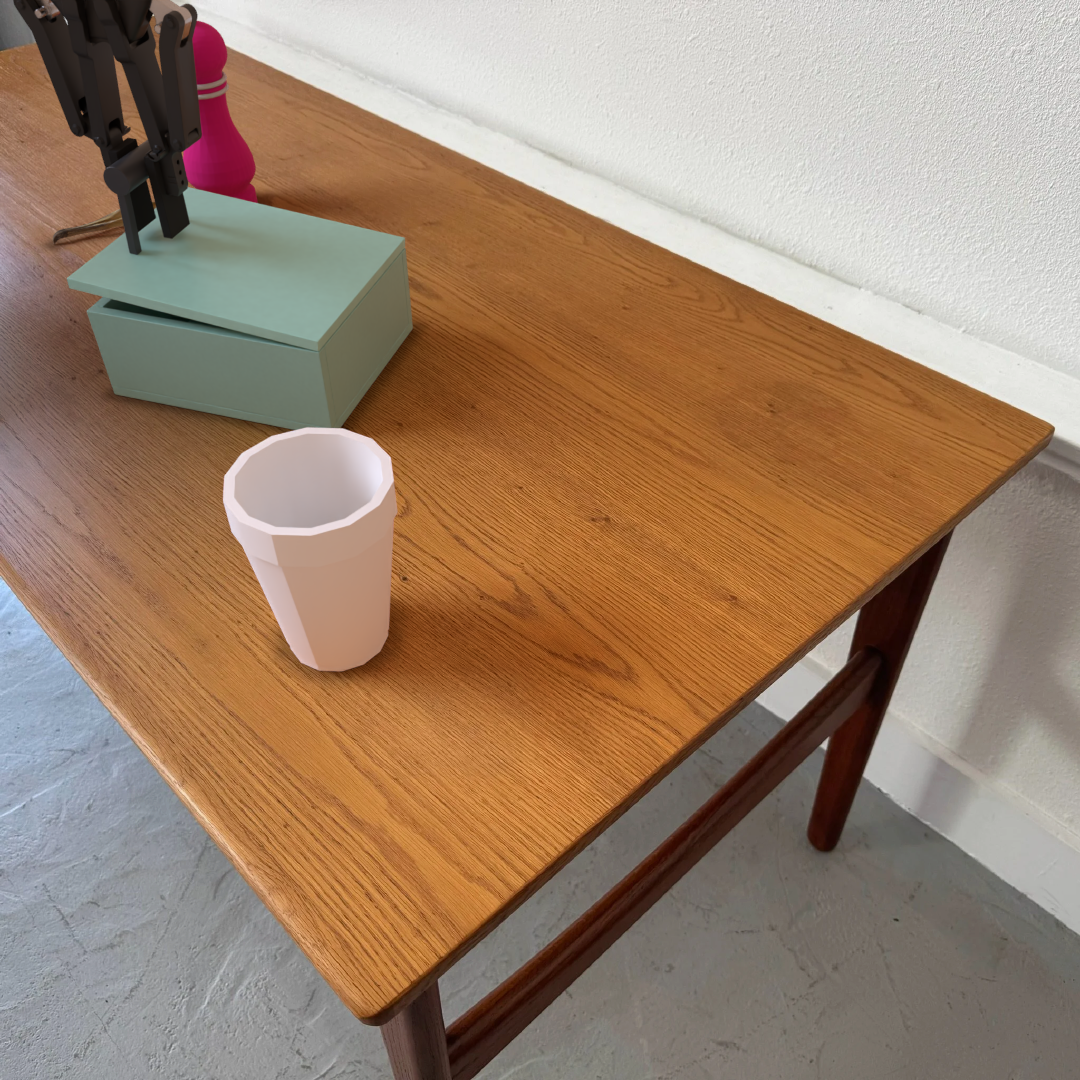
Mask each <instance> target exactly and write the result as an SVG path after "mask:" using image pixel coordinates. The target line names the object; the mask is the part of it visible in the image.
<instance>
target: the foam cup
mask: <svg viewBox="0 0 1080 1080" xmlns="http://www.w3.org/2000/svg"><path fill="white" fill-rule="evenodd" d="M394 478H395V477H394V471H393V463H392V457H391V456H390V455H389V454H388V453H387V452H386V451H385V450H384V448H382V447H381V446H380V445H379V444H378V443H377V441H375V440H374V438H372V437H368V436H365V435H362V434H360V433H357V432H354V431H351V430H349V429H346V428H342V427H341V428H309V427H307V428H303V429H298V430H291V431H290V430H289V431H286V432H283V433H277V434H274V435H271V436H269V437H267V438H266V439H265V438H264V440H262V441H260V442H258V443H257V444H255V445H253V446H252V447H249V448H248V449H247V450H244V451H243V452H241V453H240V455H239V456H238V457H237V458H236V460H235V461H234V463H233V464H232V465H231V466H230V468H229V469H228V471H227V472H226V474H224V476H223V491H222V492H223V493H222V502H223V506H224V509H225V513H226V517H227V520H228V524H229V527H230V531H231V534H232V535H233V536H234V538H235V539H236V540H237V541H238V543H239V544H240V545H241V546H242V549H243V550H244V553H245V556H246V557H247V559H248V562H249V564H250V566H251V568H252V570H253V572H254V575H255V577H256V579H257V581H258V583H259V585H260V587H261V590H262V591H263V593H264V596H265V598H266V600H267V602H268V604H269V606H270V609H271V611H272V613H273V615H274V617H275V620H276V621H277V624H278V626H279V627H280V630H281V632H282V634H283V636H284V639H285V640H286V643H287V644H288V646H289V649H290V650H291V652H292V653H293V654H294V656H295V657H296V658H297V660H298V661H299V662H300V663H301V664H302V665H305V666H308V667H310V668H312V669H314V670H317V671H320V672H344V671H349V670H351V669H354V668H357V667H360V666H364V665H365V664H366V663H368V662H369V661H370V660H371V659H373V658H374V657H375V656H377V655H378V654H379V653H380V652H381V651H382V649H383V647H384V645H385V643H386V641H387V639H388V637H389V630H390V615H391V614H390V612H391V594H392V593H391V592H392V591H391V590H392V572H393V571H392V569H393V549H394V548H393V546H394V529H395V528H394V524H395V518H396V516H397V515H398V504H397V496H396V486H395V479H394Z"/></svg>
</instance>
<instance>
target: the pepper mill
mask: <svg viewBox="0 0 1080 1080" xmlns="http://www.w3.org/2000/svg"><path fill="white" fill-rule="evenodd" d="M184 4H185V3H184ZM184 4H181V5H180V6H182V5H184ZM192 41H193V51H194V61H195V71H196V81H197V90H198V100H199V110H200V120H201V130H202V137H201V139H199V140H198V141H197V142H195V143H194V144H193V145H191V146H190V147H189V148H187V149H186V150H185V151H183V152H182V157H183V161H184V166H185V171H186V176H187V179H188V184H190V185H191V186H192V187H193V188H194V189H199V190H203V191H207V192H211V193H216V194H220V195H224V196H229V197H233V198H237V199H241V200H246V201H250V202H254V203H259V202H258V197H257V192H256V188H255V186H254V184H252V183H251V182H252V181H253V179H254V177H255V175H256V171H257V170H256V169H257V167H256V162H255V158H254V155H253V153H252V151H251V149H250V147H249V144H248V143H247V141H246V140H245V139H244V137H243V136H242V135H241V133H240V131H239V130H238V128H237V127H236V125H235V124H234V121H233V119H232V117H231V113H230V110H229V106H228V101H227V92H228V90H229V88H230V86H229V83H228V81H227V79H228V75H227V73H226V72H225V71H223V70H224V68H225V67H226V64H227V61H228V49H227V45H226V42H225V40H224V38H223V36H222V33H220V32H219V31H218V29H216V28H215V27H214V26H213V25H211V24H209V23H207V22H204V21H201V20H197V22H196V26H195V30H194V35H193V39H192Z"/></svg>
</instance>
